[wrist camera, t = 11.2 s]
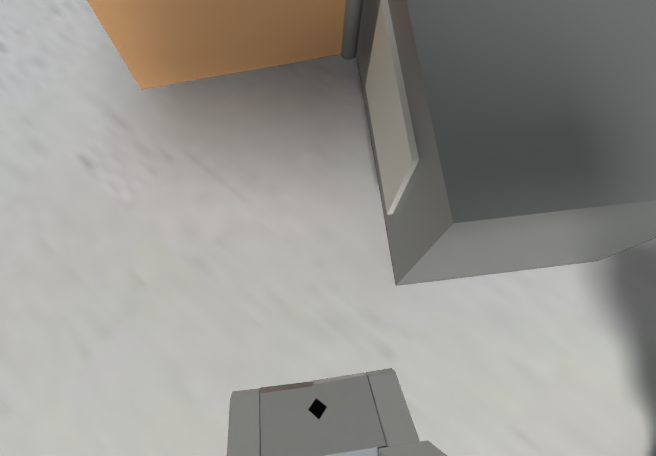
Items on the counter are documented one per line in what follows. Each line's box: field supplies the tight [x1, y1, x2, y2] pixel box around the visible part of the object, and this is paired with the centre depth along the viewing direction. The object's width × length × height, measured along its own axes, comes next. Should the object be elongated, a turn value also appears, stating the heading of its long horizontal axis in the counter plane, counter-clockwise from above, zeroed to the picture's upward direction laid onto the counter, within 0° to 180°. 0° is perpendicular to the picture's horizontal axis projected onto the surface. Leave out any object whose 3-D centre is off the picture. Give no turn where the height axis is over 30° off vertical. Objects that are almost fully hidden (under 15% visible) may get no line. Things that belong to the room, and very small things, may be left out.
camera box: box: [357, 0, 656, 286], centre depth 25 cm, size 12×18×12 cm
